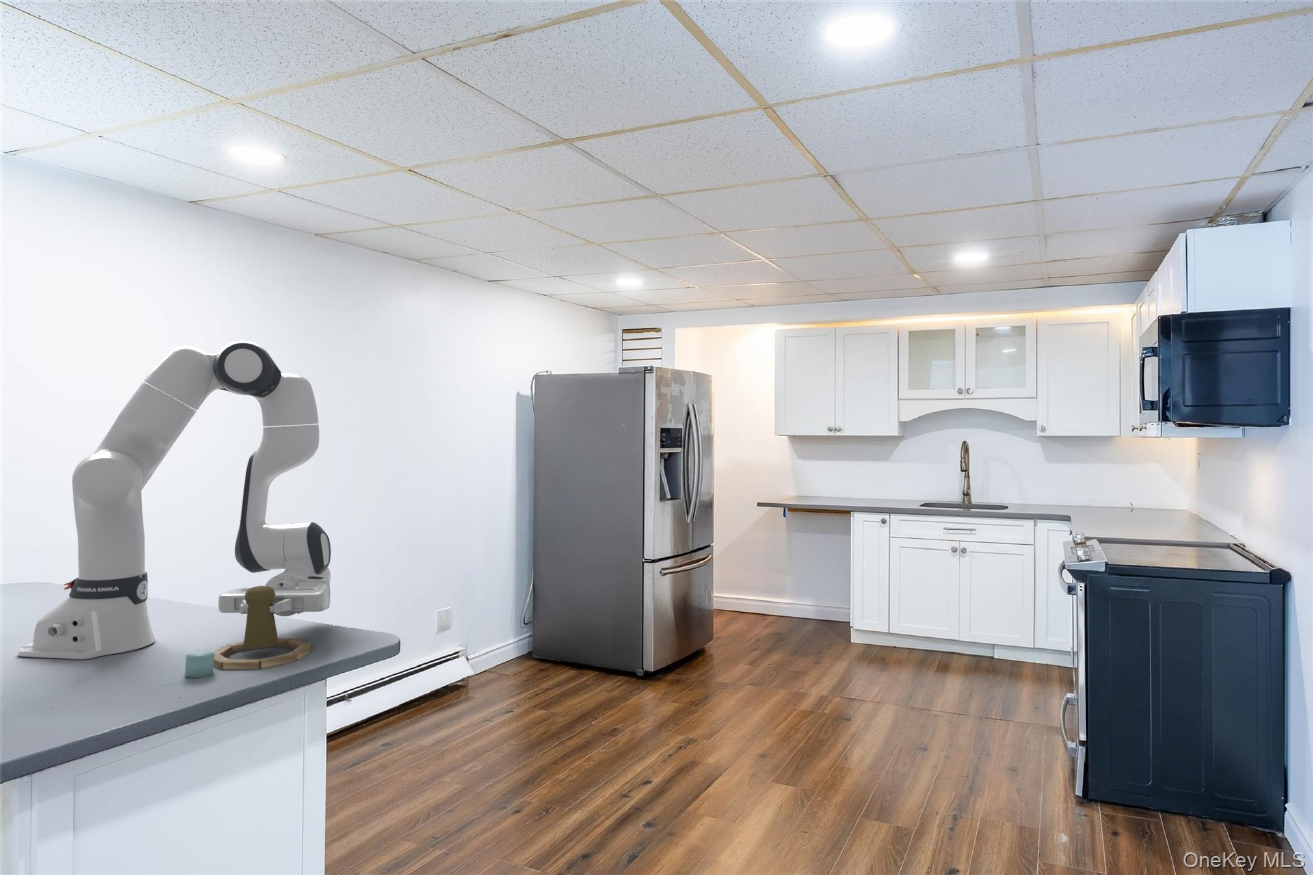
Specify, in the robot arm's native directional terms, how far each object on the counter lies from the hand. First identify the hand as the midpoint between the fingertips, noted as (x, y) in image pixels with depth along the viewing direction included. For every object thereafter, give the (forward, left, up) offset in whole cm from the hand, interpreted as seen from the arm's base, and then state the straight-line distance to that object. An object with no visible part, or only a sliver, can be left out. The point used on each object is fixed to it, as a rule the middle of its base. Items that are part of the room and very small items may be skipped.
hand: (258, 609), depth 155 cm
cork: (0, +1, -7) cm, 7 cm away
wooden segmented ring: (0, +1, -9) cm, 9 cm away
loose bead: (-6, -10, -9) cm, 15 cm away
